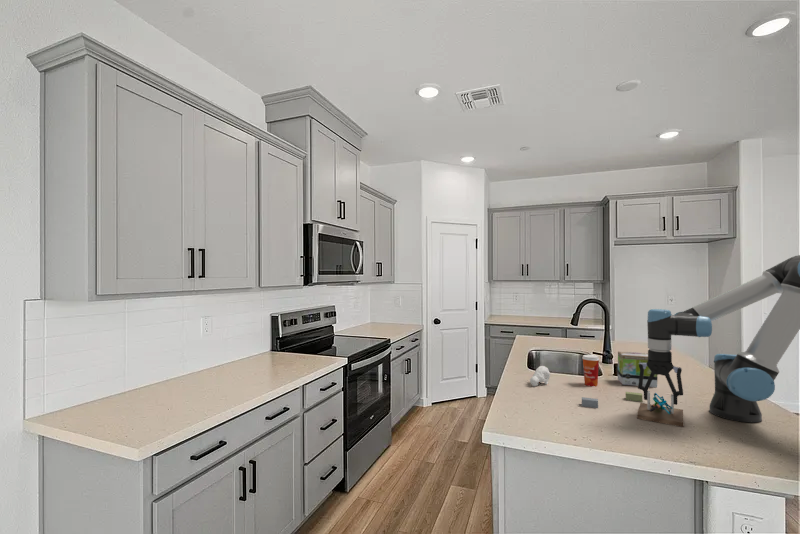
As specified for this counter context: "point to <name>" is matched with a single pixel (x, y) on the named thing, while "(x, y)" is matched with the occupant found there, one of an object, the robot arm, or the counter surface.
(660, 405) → the stick construction toy
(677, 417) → the walnut board
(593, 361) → the paper cup
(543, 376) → the white lumpy piece
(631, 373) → the tea box
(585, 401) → the slate grey block
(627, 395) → the olive block
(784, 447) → the counter surface
